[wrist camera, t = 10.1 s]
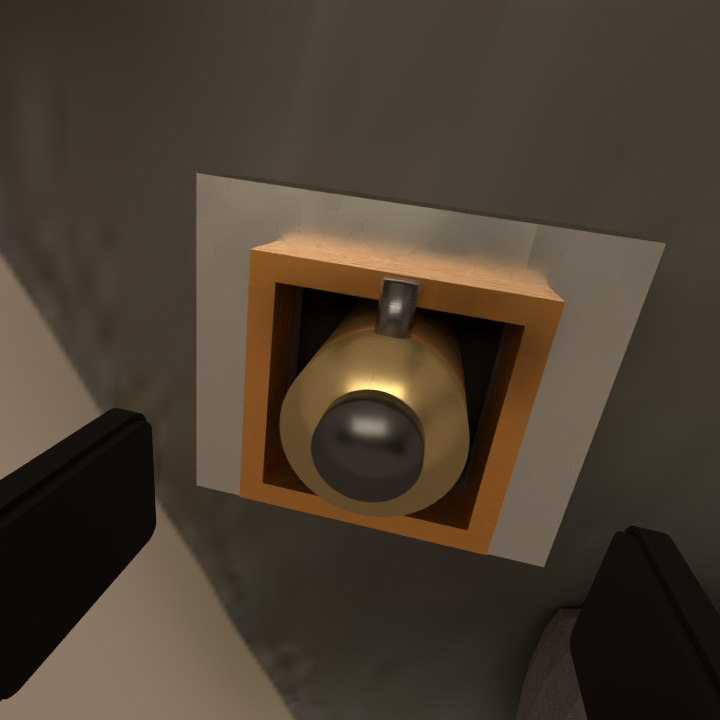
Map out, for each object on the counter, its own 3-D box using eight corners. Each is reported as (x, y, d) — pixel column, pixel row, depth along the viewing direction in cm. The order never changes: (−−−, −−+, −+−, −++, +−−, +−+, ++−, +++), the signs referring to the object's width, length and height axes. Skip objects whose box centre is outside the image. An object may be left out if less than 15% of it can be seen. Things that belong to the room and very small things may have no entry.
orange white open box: (616, 231, 16) (703, 252, 11) (526, 500, 21) (555, 612, 15) (248, 176, 18) (159, 170, 12) (238, 436, 22) (169, 517, 17)
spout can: (446, 406, 20) (446, 557, 12) (336, 384, 20) (263, 512, 12) (480, 260, 17) (510, 321, 9) (354, 240, 18) (279, 281, 10)
